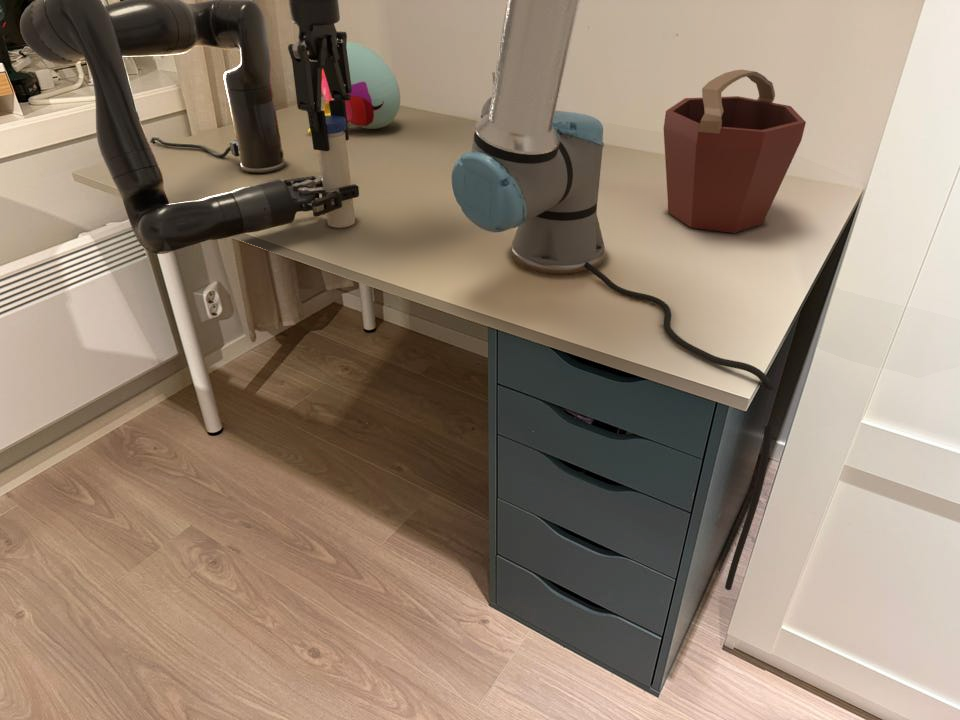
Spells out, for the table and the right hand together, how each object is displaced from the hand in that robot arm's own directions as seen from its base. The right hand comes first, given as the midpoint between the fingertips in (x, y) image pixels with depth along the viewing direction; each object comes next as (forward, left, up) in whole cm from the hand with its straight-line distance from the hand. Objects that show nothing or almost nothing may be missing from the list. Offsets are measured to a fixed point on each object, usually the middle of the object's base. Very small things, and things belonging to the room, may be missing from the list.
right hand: (331, 144), depth 122 cm
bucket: (-24, -65, -14) cm, 71 cm away
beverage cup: (+14, -37, -14) cm, 42 cm away
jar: (0, 0, -14) cm, 14 cm away
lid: (0, 0, +4) cm, 4 cm away
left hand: (+1, -3, -8) cm, 8 cm away
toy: (+58, -16, -14) cm, 62 cm away
